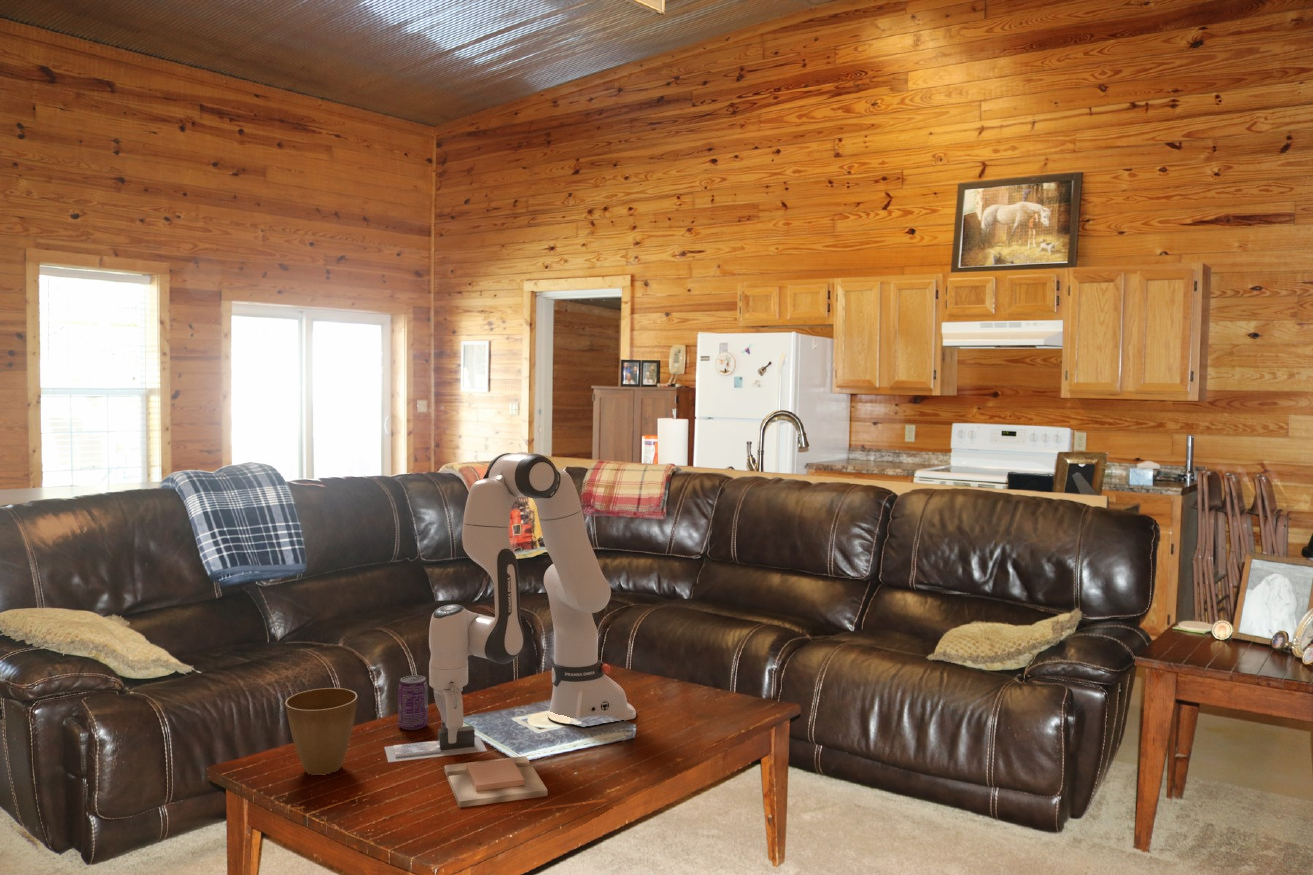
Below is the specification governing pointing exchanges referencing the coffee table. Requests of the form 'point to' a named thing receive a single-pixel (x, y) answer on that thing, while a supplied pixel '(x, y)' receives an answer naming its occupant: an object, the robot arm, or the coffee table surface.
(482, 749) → the tool mat
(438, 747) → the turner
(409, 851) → the coffee table surface
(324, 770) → the plant pot
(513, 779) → the tile
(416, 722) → the beverage can
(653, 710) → the coffee table surface
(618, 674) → the coffee table surface
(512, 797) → the tile stand
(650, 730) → the coffee table surface
